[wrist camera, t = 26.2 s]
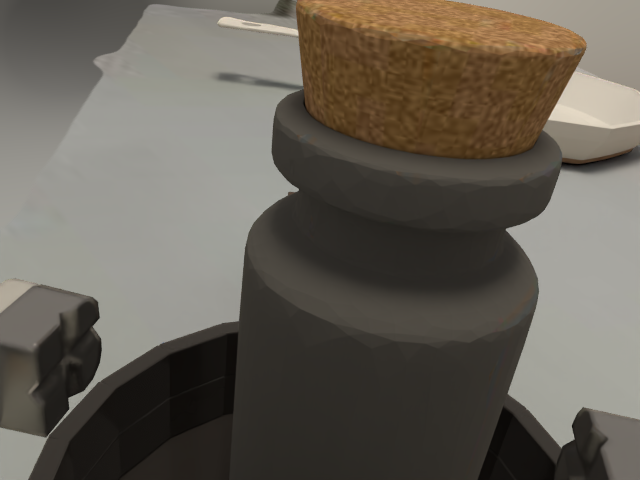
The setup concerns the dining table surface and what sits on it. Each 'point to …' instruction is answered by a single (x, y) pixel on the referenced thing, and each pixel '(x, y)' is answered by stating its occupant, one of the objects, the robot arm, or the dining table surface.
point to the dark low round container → (215, 422)
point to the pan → (560, 110)
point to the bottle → (396, 241)
